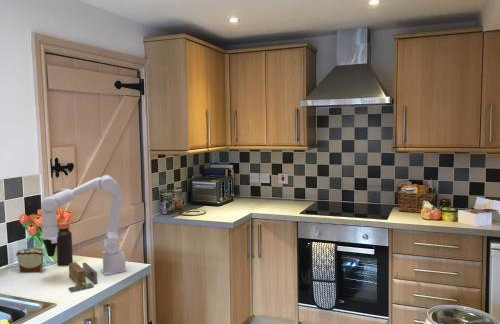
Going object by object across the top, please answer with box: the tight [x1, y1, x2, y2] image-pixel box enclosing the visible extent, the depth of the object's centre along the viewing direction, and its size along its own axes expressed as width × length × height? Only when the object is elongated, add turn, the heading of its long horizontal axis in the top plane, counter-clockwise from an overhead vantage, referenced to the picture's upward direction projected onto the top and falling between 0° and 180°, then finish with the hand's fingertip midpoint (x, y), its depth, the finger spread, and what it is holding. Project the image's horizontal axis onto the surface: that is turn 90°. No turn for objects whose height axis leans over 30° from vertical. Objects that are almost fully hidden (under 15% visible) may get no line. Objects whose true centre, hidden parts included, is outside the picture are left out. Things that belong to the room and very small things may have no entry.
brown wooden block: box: [68, 261, 87, 286], centre depth 181 cm, size 3×18×6 cm, turn 38°
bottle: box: [56, 221, 74, 267], centre depth 204 cm, size 7×7×20 cm
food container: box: [15, 247, 45, 274], centre depth 196 cm, size 12×6×10 cm, turn 92°
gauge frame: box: [68, 262, 98, 294], centre depth 182 cm, size 12×19×5 cm, turn 38°
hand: (51, 256), depth 184 cm, fingers closed
